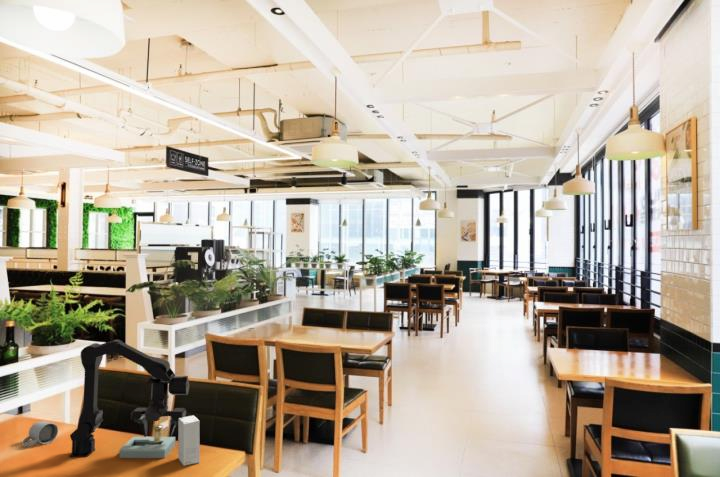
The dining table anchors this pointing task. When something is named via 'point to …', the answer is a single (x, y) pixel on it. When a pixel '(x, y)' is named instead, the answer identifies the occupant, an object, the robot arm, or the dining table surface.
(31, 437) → the ceramic mug
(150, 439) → the keyhole plate
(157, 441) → the brass door knob
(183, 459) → the skincare box
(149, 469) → the dining table surface
